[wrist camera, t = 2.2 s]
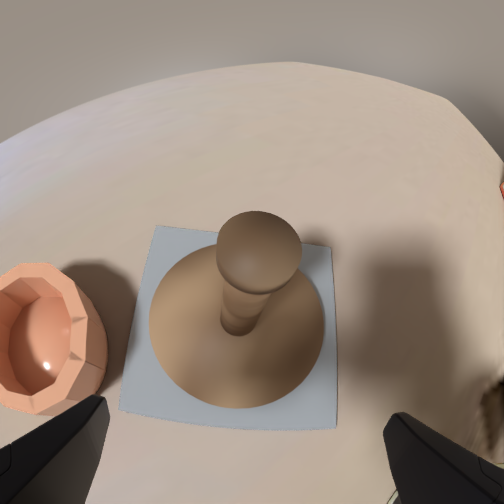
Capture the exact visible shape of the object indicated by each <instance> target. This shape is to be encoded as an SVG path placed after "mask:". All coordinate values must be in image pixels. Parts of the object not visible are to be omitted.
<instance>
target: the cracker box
mask: <svg viewBox="0 0 504 504" xmlns="http://www.w3.org/2000/svg"><path fill="white" fill-rule="evenodd" d="M500 189H501V191H502V194H503V197H504V182H503V183H502V184H501V186H500Z"/></svg>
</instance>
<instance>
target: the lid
mask: <svg viewBox="0 0 504 504" xmlns="http://www.w3.org/2000/svg"><path fill="white" fill-rule="evenodd" d="M301 258H302V245H301V242H300V239H299V237H298V235H297V233H296V231H295V230H294V229H293V228H292V226H291V225H290V224H288V223H287V222H286V221H285V220H283V219H282V218H280V217H278V216H276V215H273V214H271V213H267V212H261V211H249V212H244V213H241V214H238V215H236V216H234V217H232V218H231V219H229V220H228V221H227V222H226V223H225V224H224V225H223V226H222V228H221V230H220V231H219V234H218V237H217V244H214V245H210V246H207V247H203V248H200V249H198V250H196V251H194V252H192V253H190V254H188V255H187V256H185V257H184V258H182V259H181V260H180V261H178V262H177V263H176V264H175V265H174V266H173V267H172V268H171V269H170V270H169V271H168V272H167V273H166V274H165V276H164V277H163V278H162V280H161V281H160V283H159V285H158V287H157V289H156V291H155V293H154V296H153V299H152V302H151V306H150V311H149V335H150V339H151V344H152V347H153V350H154V353H155V355H156V357H157V359H158V361H159V363H160V365H161V367H162V368H163V369H164V371H165V372H166V374H167V375H168V376H169V377H170V378H171V379H172V380H173V382H174V383H175V384H176V385H177V386H179V387H180V388H181V389H183V390H184V391H185V392H186V393H188V394H190V395H191V396H193V397H195V398H197V399H198V400H201V401H203V402H205V403H208V404H211V405H215V406H219V407H223V408H232V409H243V408H253V407H259V406H263V405H266V404H269V403H272V402H274V401H276V400H278V399H280V398H282V397H284V396H286V395H287V394H289V393H290V392H292V391H293V390H294V389H295V388H296V387H298V386H299V385H300V384H301V383H302V382H303V381H304V379H305V378H306V377H307V376H308V375H309V373H310V372H311V370H312V369H313V367H314V365H315V363H316V361H317V359H318V357H319V354H320V351H321V347H322V343H323V336H324V320H323V313H322V309H321V305H320V302H319V299H318V297H317V294H316V292H315V290H314V289H313V287H312V285H311V283H310V282H309V281H308V279H307V278H306V277H305V275H304V274H303V273H302V272H301V271H300V270H299V269H298V266H299V264H300V261H301Z"/></svg>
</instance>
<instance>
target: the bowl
mask: <svg viewBox="0 0 504 504" xmlns="http://www.w3.org/2000/svg"><path fill="white" fill-rule="evenodd" d="M107 363H108V341H107V335H106V331H105V327H104V325H103V322H102V320H101V318H100V316H99V314H98V312H97V311H96V309H95V308H94V306H93V304H92V301H91V300H90V299H89V298H88V297H87V296H86V295H85V294H84V292H83V291H82V290H81V289H80V288H79V287H78V286H77V285H76V283H75V282H74V281H73V280H71V279H70V278H69V277H67V276H66V275H64V274H63V273H62V272H60V271H59V270H58V269H56V268H55V267H54V266H52V265H51V264H50V263H21V264H19V265H17V266H16V267H14V268H13V269H11V270H10V271H8V272H7V273H5V274H4V275H2V276H1V277H0V402H1V403H2V404H3V405H4V406H5V407H8V408H12V409H15V410H19V411H23V412H26V413H31V414H35V415H47V416H57V415H59V414H61V413H62V412H64V411H66V410H67V409H69V408H70V407H72V406H74V405H75V404H77V403H78V402H80V401H82V400H83V399H85V398H86V397H88V396H90V395H92V394H96V392H97V391H98V389H99V388H100V386H101V383H102V381H103V379H104V376H105V372H106V368H107Z"/></svg>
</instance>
